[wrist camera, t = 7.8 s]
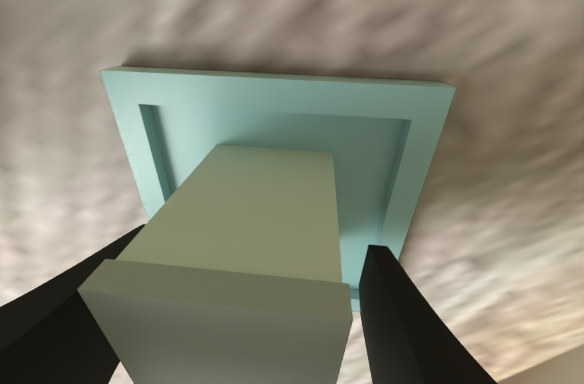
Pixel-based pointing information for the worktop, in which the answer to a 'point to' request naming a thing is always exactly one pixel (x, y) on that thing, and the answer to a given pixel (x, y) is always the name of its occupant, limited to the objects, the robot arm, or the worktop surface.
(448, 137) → the worktop surface
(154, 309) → the tea tin
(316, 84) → the tray
